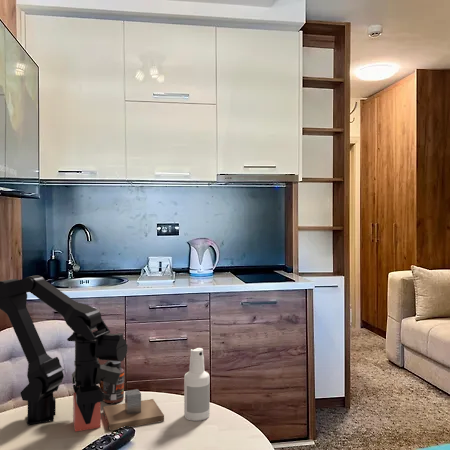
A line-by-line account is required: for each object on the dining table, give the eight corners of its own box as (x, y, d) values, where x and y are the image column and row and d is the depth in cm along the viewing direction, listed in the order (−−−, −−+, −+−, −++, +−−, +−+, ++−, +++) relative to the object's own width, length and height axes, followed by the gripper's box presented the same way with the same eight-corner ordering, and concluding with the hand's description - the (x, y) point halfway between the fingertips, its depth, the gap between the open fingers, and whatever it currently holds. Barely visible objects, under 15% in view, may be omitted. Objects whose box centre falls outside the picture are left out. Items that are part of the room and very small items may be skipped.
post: (127, 414, 117) (127, 395, 117) (125, 409, 120) (125, 391, 120) (141, 412, 118) (141, 393, 118) (138, 407, 121) (138, 389, 121)
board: (109, 430, 111) (109, 424, 111) (103, 412, 122) (103, 406, 122) (164, 420, 116) (164, 415, 116) (153, 404, 127) (153, 398, 127)
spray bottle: (194, 423, 114) (194, 354, 115) (179, 415, 120) (179, 349, 120) (214, 416, 119) (214, 349, 119) (199, 408, 124) (199, 344, 124)
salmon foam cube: (75, 431, 110) (75, 401, 110) (73, 421, 116) (73, 392, 116) (100, 427, 113) (100, 397, 113) (97, 417, 118) (97, 389, 118)
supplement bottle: (118, 405, 127) (118, 365, 127) (99, 403, 128) (99, 364, 128) (127, 397, 133) (127, 359, 133) (109, 395, 134) (109, 358, 134)
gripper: (124, 364, 109) (124, 427, 109) (112, 346, 126) (112, 400, 126) (77, 370, 105) (77, 436, 105) (71, 350, 122) (71, 406, 122)
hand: (86, 418), depth 114 cm, fingers closed on salmon foam cube, 6 cm apart
